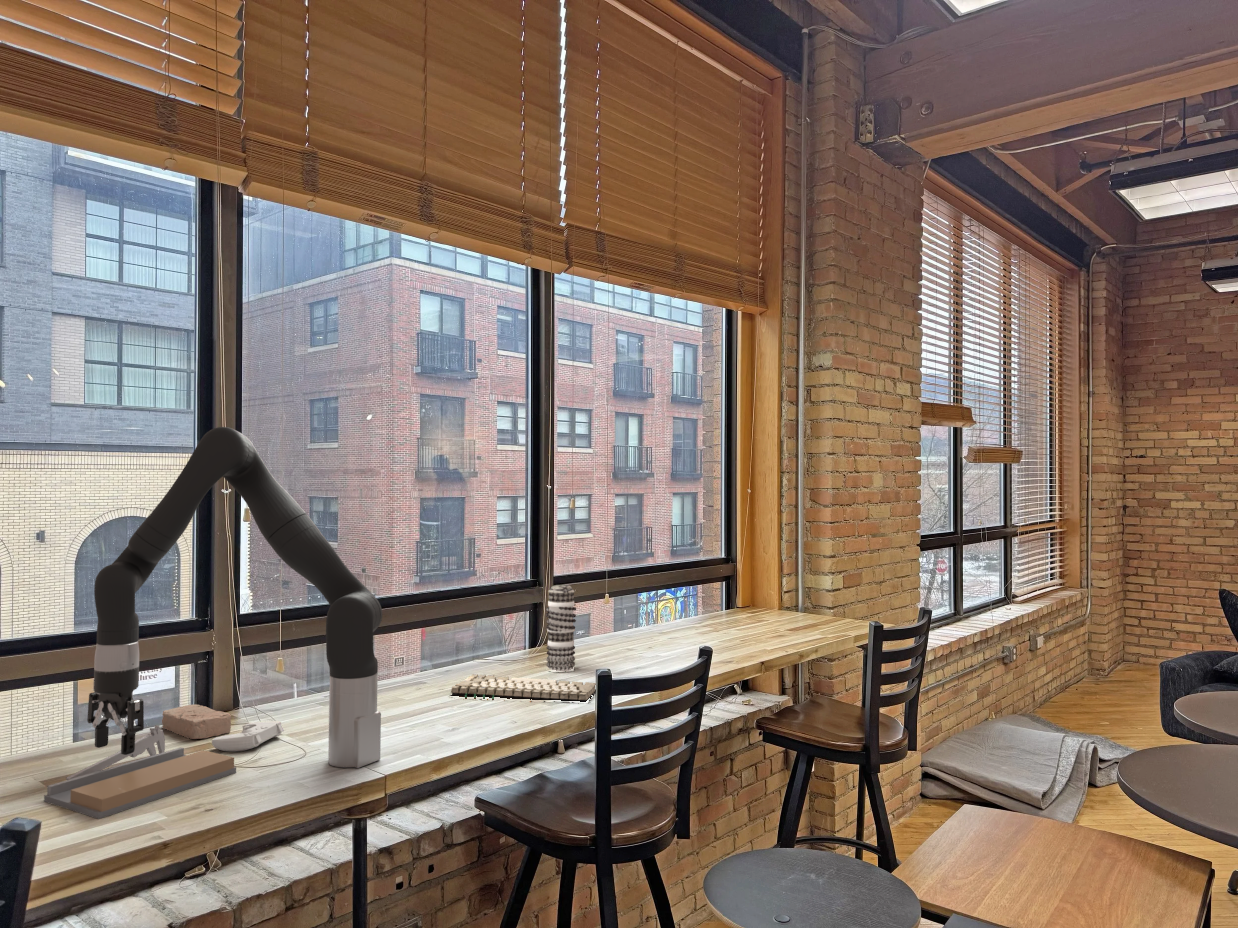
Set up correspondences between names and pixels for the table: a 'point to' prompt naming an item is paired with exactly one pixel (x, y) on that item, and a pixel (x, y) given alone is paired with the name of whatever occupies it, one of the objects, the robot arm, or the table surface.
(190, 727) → the brick
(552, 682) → the mechanical keyboard
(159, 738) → the caliper
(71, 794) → the plank board
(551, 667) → the decorative candle
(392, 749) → the table surface
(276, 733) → the game controller
